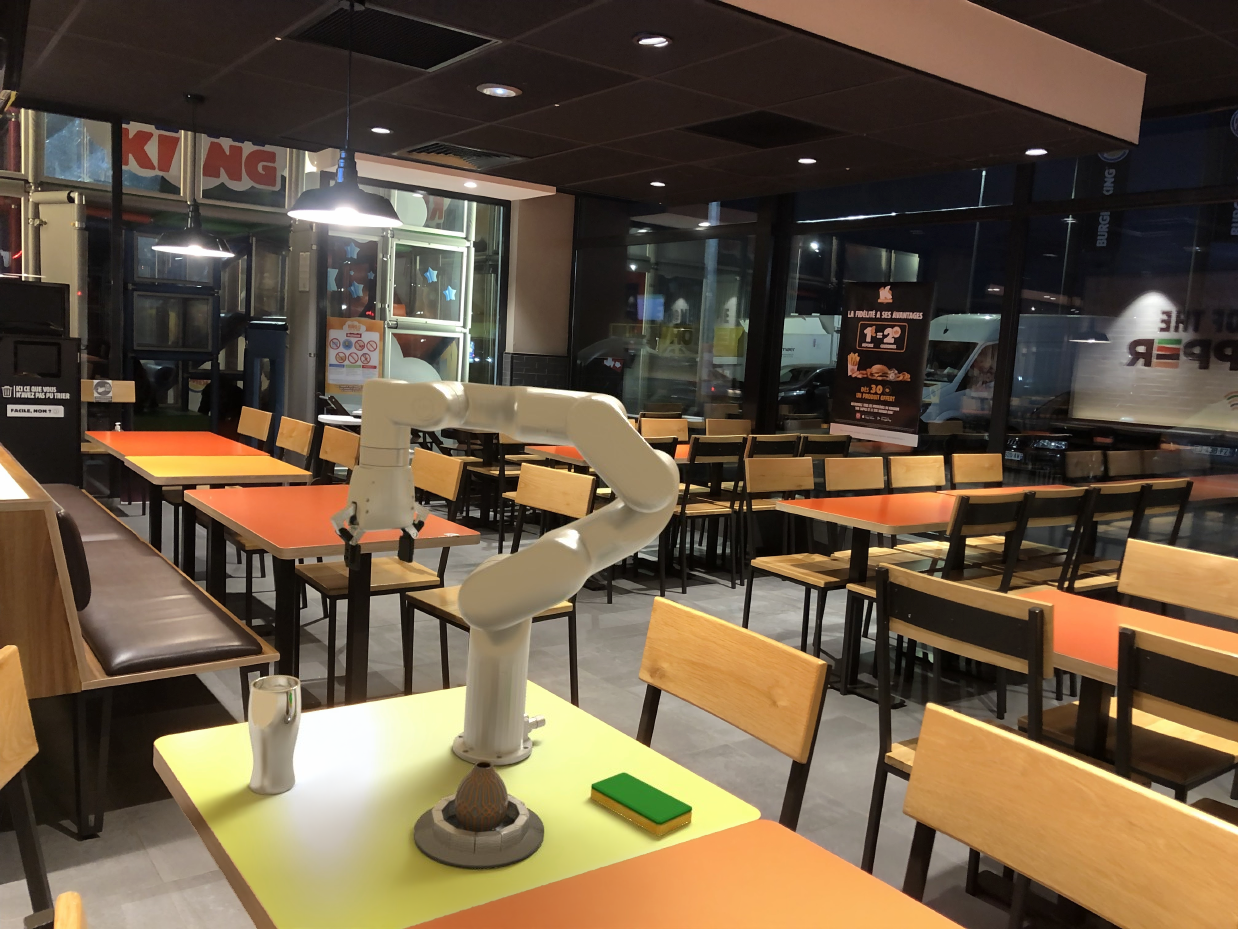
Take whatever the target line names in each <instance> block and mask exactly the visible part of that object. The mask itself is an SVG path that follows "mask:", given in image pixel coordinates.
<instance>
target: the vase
mask: <svg viewBox="0 0 1238 929" xmlns="http://www.w3.org/2000/svg"><path fill="white" fill-rule="evenodd" d="M473 764H474V765H473V766H472V768H471V770H470V771H469V772H468V773H467V774H466V775H465V776H464V777H463V779H462V780H461V781H460V783H459V785H458V787H457V790H456V792H455V794H456V797H455V813H456V817H457V820H458V822H459V824H460V825H461V826H462V827H463V828H464V829H465V830H466V831H472V832H487V831H494V830H495V829H496V828H498V827H499V825H500V824H501V823H502V821H503V819H504V817H505V815H506V811H507V805H508V794H509V793H508V791H507V786H506V785H505V781H504V780H503V779H502V777H501V776H500V775H499V773H498V771H496V769H495V765H493V764H492V763H491V762H489V761H478V762H476V763H473ZM507 793H508V794H507Z"/></svg>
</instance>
